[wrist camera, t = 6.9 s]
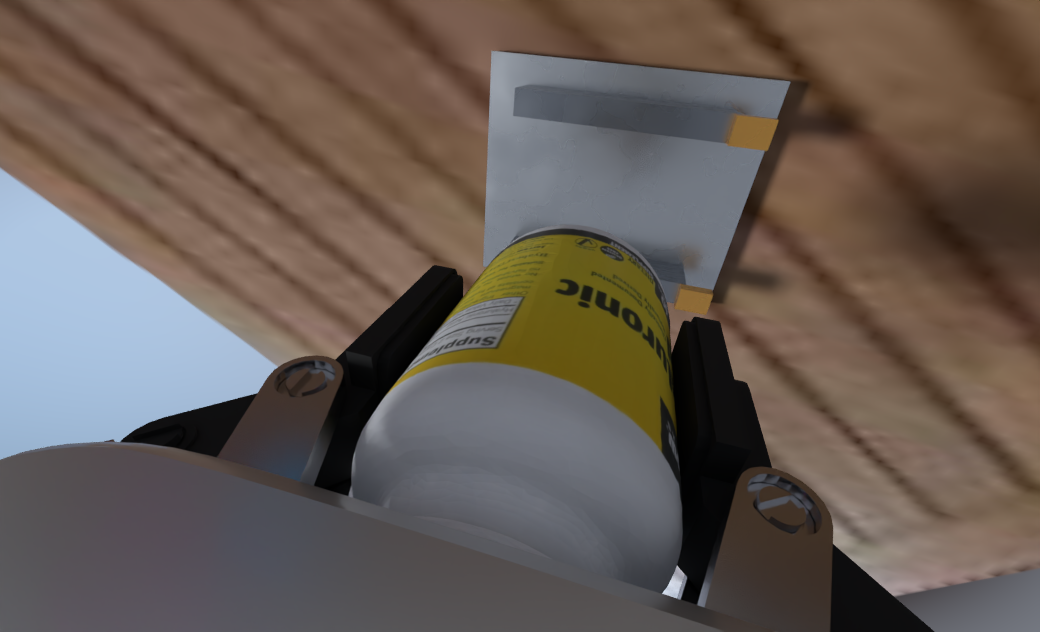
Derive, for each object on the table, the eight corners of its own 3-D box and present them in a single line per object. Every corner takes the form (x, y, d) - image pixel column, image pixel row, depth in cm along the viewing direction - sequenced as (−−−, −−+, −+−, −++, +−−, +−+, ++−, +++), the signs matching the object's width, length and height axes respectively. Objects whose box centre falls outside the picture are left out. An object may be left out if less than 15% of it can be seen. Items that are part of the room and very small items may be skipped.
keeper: (784, 80, 20) (812, 85, 17) (704, 301, 26) (711, 337, 23) (497, 51, 22) (470, 50, 19) (488, 260, 29) (466, 287, 25)
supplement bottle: (702, 345, 12) (798, 923, 4) (544, 398, 15) (412, 816, 7) (611, 177, 10) (470, 596, 2) (451, 270, 13) (123, 623, 5)
